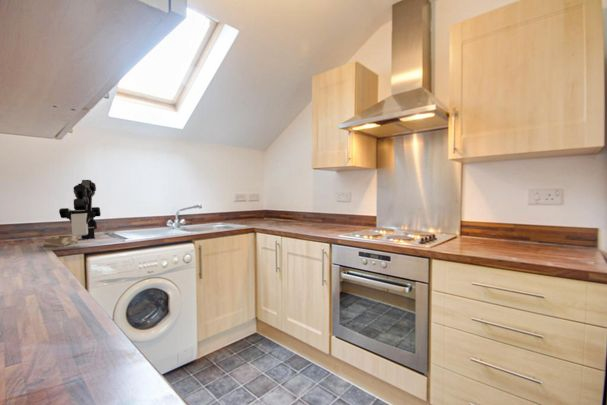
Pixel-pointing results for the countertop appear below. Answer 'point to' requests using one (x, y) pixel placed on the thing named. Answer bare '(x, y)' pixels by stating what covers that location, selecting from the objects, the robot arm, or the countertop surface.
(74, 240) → the beech crate
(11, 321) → the countertop surface
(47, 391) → the countertop surface
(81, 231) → the grey tote
